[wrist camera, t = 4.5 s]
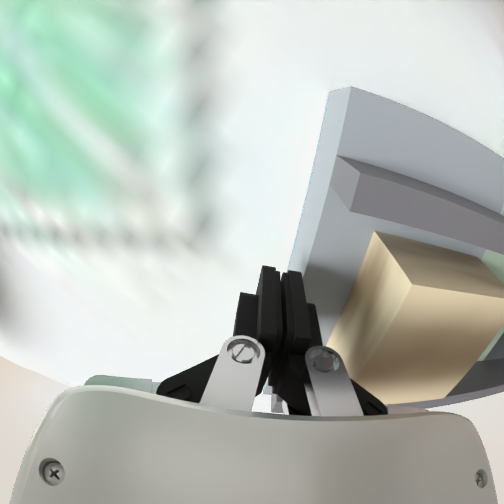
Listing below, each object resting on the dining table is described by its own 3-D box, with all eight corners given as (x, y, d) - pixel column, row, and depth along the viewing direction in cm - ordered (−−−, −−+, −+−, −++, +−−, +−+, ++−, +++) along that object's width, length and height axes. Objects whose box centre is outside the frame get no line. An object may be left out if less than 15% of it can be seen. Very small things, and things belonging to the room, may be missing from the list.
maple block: (374, 230, 11) (411, 284, 8) (476, 256, 12) (517, 300, 8) (326, 345, 15) (336, 405, 11) (422, 349, 15) (443, 398, 11)
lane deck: (328, 92, 12) (381, 79, 6) (568, 218, 13) (609, 252, 7) (264, 351, 21) (261, 432, 15) (494, 355, 22) (517, 398, 15)
